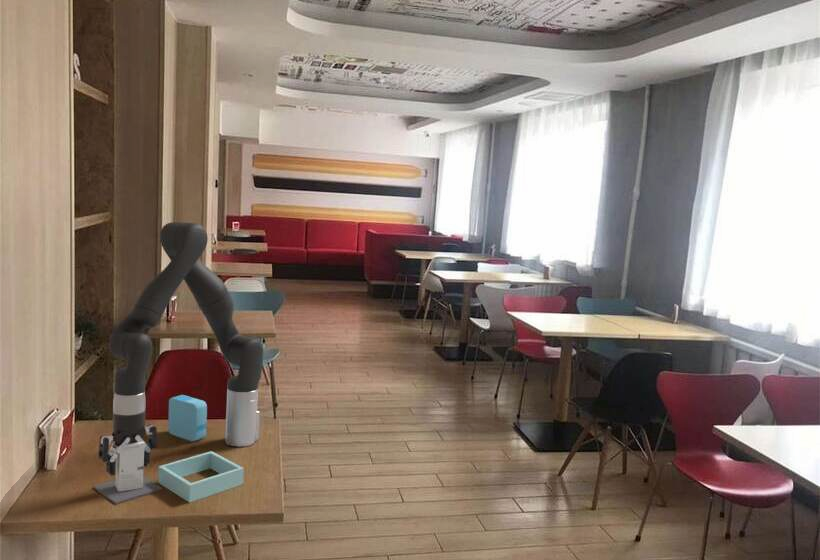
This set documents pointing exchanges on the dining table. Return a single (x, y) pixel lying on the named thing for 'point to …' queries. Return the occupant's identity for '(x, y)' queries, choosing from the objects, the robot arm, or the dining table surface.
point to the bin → (197, 490)
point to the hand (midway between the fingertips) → (128, 470)
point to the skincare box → (130, 467)
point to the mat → (123, 496)
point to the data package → (187, 417)
